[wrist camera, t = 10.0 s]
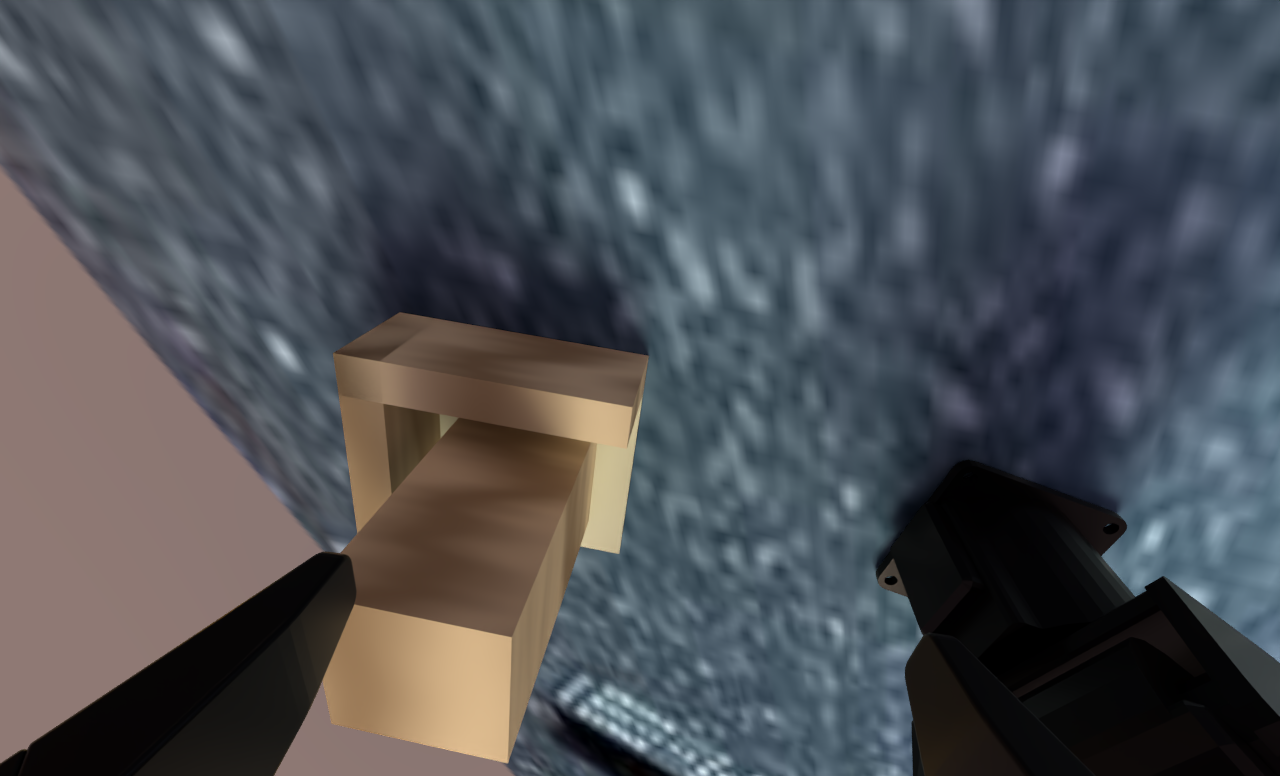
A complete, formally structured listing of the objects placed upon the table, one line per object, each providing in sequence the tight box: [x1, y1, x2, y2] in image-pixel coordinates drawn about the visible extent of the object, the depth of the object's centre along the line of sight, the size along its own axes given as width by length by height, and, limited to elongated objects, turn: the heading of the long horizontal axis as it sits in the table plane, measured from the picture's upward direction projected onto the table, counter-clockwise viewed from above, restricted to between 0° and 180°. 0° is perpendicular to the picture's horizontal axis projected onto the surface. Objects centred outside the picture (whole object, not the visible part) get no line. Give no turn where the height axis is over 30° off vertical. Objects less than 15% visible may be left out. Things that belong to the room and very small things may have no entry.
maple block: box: [323, 418, 597, 763], centre depth 18 cm, size 5×5×10 cm
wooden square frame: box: [333, 312, 649, 554], centre depth 21 cm, size 10×10×4 cm
